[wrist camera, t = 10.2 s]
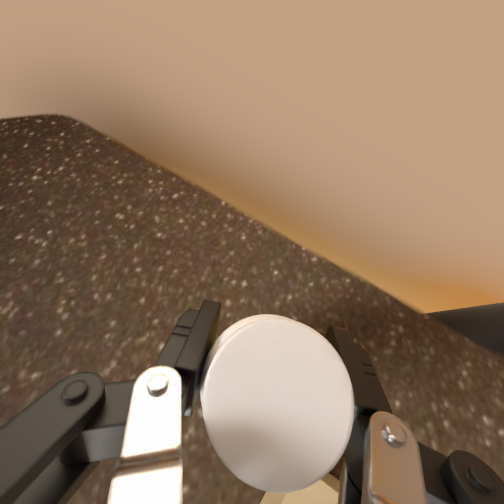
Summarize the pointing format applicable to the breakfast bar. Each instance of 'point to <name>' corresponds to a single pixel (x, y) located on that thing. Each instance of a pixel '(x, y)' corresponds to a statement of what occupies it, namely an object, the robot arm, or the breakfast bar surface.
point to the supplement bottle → (276, 403)
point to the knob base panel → (308, 493)
